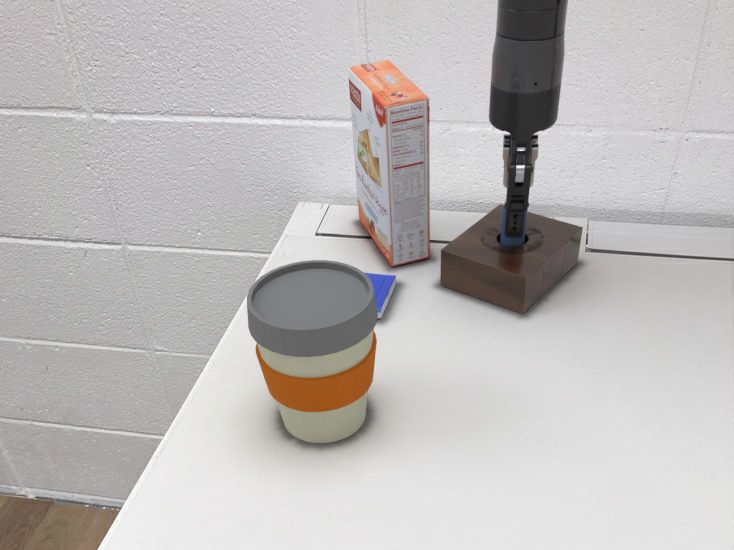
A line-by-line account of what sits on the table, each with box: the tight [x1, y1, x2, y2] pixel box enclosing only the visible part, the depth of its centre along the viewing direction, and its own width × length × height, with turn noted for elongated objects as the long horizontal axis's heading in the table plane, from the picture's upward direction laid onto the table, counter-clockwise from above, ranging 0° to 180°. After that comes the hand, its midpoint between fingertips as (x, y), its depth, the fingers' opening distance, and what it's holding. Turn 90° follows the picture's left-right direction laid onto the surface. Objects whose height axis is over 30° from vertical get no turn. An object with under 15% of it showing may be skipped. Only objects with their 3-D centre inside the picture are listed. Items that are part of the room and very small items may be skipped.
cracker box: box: [347, 59, 431, 268], centre depth 103 cm, size 14×6×21 cm, turn 18°
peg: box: [500, 204, 529, 247], centre depth 100 cm, size 3×3×9 cm
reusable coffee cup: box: [246, 259, 379, 444], centre depth 81 cm, size 13×13×15 cm
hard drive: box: [364, 272, 397, 320], centre depth 101 cm, size 2×8×12 cm
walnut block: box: [439, 203, 584, 315], centre depth 101 cm, size 14×12×5 cm
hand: (513, 224), depth 98 cm, fingers open, 5 cm apart
